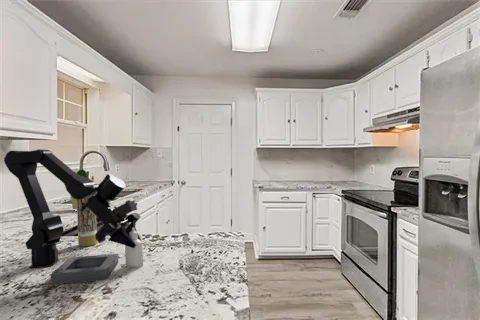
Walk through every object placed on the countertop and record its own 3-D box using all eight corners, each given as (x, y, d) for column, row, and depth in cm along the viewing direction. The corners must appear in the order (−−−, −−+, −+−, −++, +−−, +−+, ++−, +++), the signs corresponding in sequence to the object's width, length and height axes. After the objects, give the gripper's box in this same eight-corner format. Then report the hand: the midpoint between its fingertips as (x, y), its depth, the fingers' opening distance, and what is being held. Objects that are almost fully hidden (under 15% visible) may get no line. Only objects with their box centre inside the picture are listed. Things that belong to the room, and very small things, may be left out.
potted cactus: (64, 212, 210) (63, 169, 210) (81, 208, 225) (79, 168, 225) (83, 212, 207) (82, 168, 207) (99, 208, 222) (97, 168, 222)
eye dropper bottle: (130, 269, 92) (129, 230, 92) (124, 265, 97) (123, 227, 97) (144, 266, 95) (143, 228, 95) (138, 262, 99) (137, 225, 99)
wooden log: (89, 247, 119) (87, 183, 119) (74, 246, 120) (72, 184, 120) (100, 242, 126) (98, 182, 126) (86, 242, 127) (84, 182, 127)
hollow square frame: (51, 285, 83) (50, 274, 83) (70, 266, 97) (70, 257, 97) (107, 279, 85) (107, 268, 85) (118, 262, 99) (118, 253, 99)
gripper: (103, 196, 87) (141, 234, 86) (134, 189, 106) (165, 221, 104) (79, 223, 88) (115, 261, 87) (113, 212, 107) (144, 243, 105)
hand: (137, 245), depth 96 cm, fingers closed on eye dropper bottle, 4 cm apart
